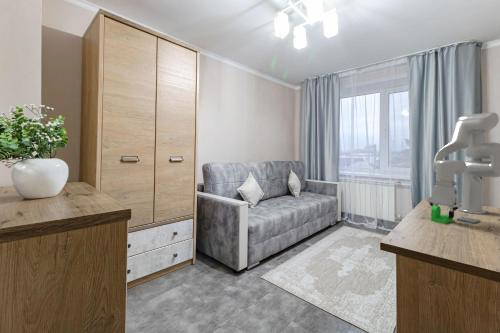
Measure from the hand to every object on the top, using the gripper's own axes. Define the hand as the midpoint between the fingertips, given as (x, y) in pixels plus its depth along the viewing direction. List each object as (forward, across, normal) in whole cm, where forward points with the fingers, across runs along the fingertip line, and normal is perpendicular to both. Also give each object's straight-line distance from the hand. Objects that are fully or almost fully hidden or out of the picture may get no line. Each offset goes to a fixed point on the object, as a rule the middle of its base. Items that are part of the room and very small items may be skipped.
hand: (442, 216), depth 124 cm
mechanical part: (+2, 0, 0) cm, 2 cm away
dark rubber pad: (+2, -7, -11) cm, 13 cm away
